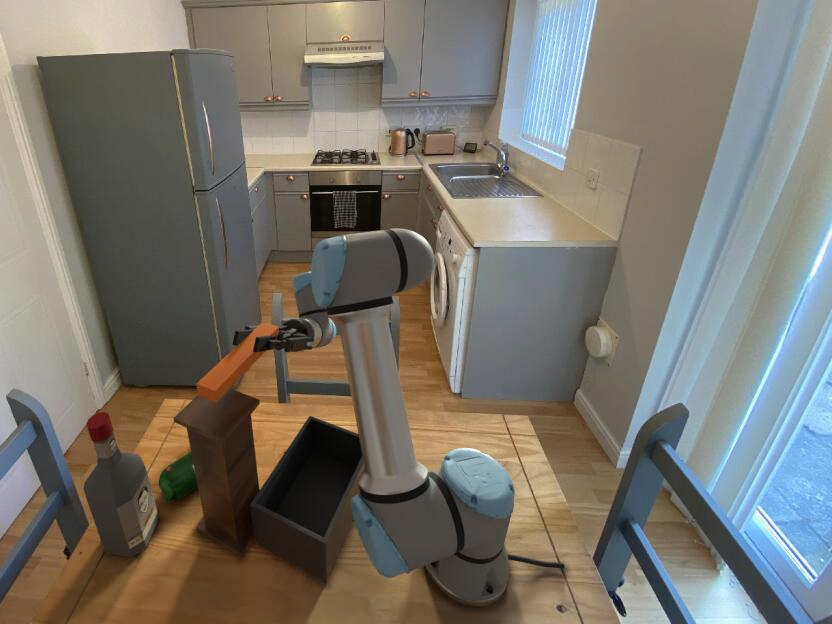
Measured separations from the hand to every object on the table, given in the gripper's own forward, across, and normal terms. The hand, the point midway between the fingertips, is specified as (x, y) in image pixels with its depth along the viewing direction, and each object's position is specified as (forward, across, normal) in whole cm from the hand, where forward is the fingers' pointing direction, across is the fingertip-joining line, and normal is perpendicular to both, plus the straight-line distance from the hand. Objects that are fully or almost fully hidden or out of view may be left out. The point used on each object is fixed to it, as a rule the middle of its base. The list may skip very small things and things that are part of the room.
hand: (245, 341), depth 78 cm
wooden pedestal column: (-11, 0, -38) cm, 39 cm away
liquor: (-1, +17, -43) cm, 47 cm away
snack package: (-14, +14, -36) cm, 41 cm away
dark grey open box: (-19, -14, -33) cm, 40 cm away
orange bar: (-1, 0, -4) cm, 4 cm away
